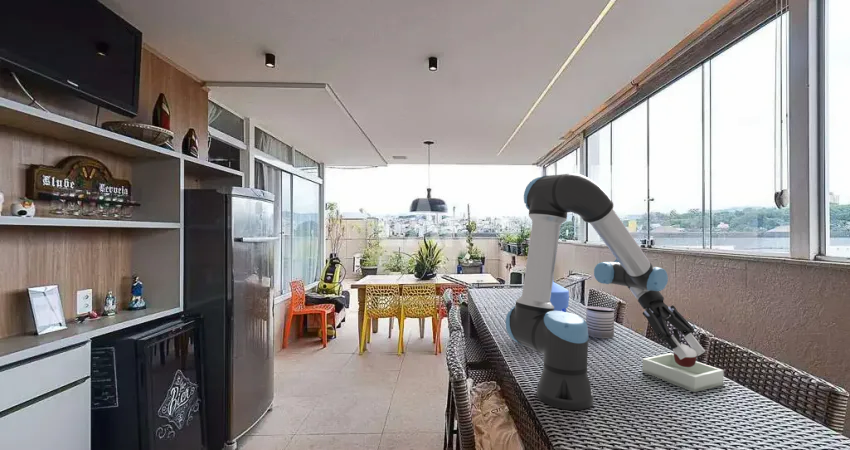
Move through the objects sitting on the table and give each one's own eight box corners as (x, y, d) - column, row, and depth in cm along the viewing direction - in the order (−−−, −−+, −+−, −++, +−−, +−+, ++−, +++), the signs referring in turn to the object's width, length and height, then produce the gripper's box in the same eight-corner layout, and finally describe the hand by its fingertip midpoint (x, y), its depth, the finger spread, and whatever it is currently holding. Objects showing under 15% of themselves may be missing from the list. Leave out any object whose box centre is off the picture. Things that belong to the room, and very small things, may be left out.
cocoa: (691, 363, 134) (693, 326, 134) (704, 369, 128) (706, 331, 128) (662, 361, 134) (664, 324, 135) (673, 368, 128) (675, 329, 128)
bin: (694, 392, 120) (694, 377, 120) (642, 372, 136) (642, 358, 136) (723, 384, 126) (723, 370, 126) (670, 365, 142) (670, 353, 142)
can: (580, 334, 180) (581, 306, 179) (592, 329, 187) (593, 303, 187) (606, 340, 171) (607, 311, 171) (618, 334, 179) (619, 307, 178)
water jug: (535, 344, 164) (536, 274, 164) (524, 333, 180) (525, 269, 179) (574, 344, 165) (575, 274, 164) (560, 333, 180) (561, 269, 180)
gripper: (659, 298, 149) (704, 356, 135) (619, 303, 140) (662, 365, 126) (674, 286, 144) (722, 345, 130) (633, 290, 135) (680, 354, 121)
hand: (693, 355), depth 128 cm, fingers closed on cocoa, 8 cm apart
